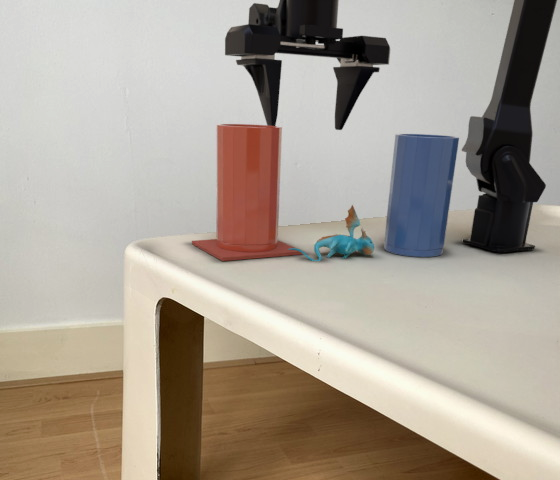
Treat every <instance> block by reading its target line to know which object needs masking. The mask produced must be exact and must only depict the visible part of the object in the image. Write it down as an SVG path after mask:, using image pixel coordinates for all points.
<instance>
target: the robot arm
mask: <svg viewBox="0 0 560 480" xmlns="http://www.w3.org/2000/svg"><path fill="white" fill-rule="evenodd" d="M339 1H340V0H279V2H278V5H277V7H270V6H269V5H268V4H265V3H257V2H254V3H253V4H252V5H250V7H249V8H248V23H247V24H242V25H236V26H231V27H230V28H229V29H228V30H227V32H226V35H225V37H224V55H225V56H228V57H239V58H240V59H235V62H236V65H237V66H243V67H244V68H245V70H246V71H247V73H248V74H249V76H250V77H251V79H252V81H253V84H254V86H255V89H256V92H257V95H258V98H259V102H260V105H261V108H262V112H263V116H264V119H265V122H266V125H270V126H277V120H278V114H279V103H280V101H279V100H280V89H281V79H282V78H281V77H282V67H283V66H282V65H283V60H282V59H275V57H276V55H275V54H282V55H293V56H294V55H296V56H306V57H307V56H308V57H318V58H332V59H337V62H338V63H339V64H340V66H332V69H333V71H334V75H335V78H336V93H335V106H334V129H335V130H336V131H342V130H343V129H344V127H345V125H346V123H347V121H348V119H349V117H350V114H351V113H352V111H353V109H354V107H355V105H356V103H357V102H358V99H359V97H360V95H361V94H362V92H363V90H364V89H365V88H366V86H367V84H368V82H369V81H370V79H371V78H372V76H373V75H374V73H380V70H381V68H380V67H379V66H387V65H390V59H391V58H390V57H391V46H390V44H389V42H388V40H387V38H386V37H380V36H369V35H355V36H346V37H344V28H343V27H338V16H339V15H338V13H339ZM557 2H558V0H513V5H512V9H511V14H510V17H509V22H508V26H507V30H506V34H505V38H504V43H503V47H502V52H501V56H500V60H499V65H498V69H497V74H496V77H495V82H494V87H493V90H492V91H493V92H492V95H491V99H490V101H489V104H488V106H487V107H486V109H485V111H484V113H483V114H482V116H474V115H471V116H470V117H469V121H468V129H467V136H466V137H467V138H466V140H465V143H464V145H463V146H462V148H461V152H464V153H465V166H466V168H467V170H468V171H469V173H470V174H471V176H473V177H474V178H475V179H476V186H477V189H478V191H479V192H480V193H482V194H481V195H480V194H479V195H478V198H477V203H476V207H475V209H474V212H473V220H472V225H471V230H470V237H466V238H462V239H461V240H462V241H461V242H462V243H463V244H466V245H469V246H473V247H477V248H479V249H480V248H481V249H483V250H488V251H490V252H495V253H511V252H520V251H522V252H523V251H529V250H535V249H536V245H535V244H531V243H528V242H527V237H528V233H529V232H528V231H529V226H530V222H531V216H532V211H533V206H534V203H538V202H539V200H540V199H541V197H542V194H543V193H544V191H545V189H546V187H547V185H546V183H545V182H544V180H543V179H542V178H541V176H540V175H539V174H538V172H537V171H536V170H535V168H534V167H533V166H532V164H531V153H532V143H533V124H532V111H531V105H532V100H533V94H534V92H535V88H536V84H537V80H538V76H539V72H540V69H541V64H542V61H543V57H544V53H545V49H546V46H547V41H548V37H549V33H550V29H551V26H552V22H553V18H554V14H555V10H556V6H557ZM376 66H377V67H376Z"/></svg>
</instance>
